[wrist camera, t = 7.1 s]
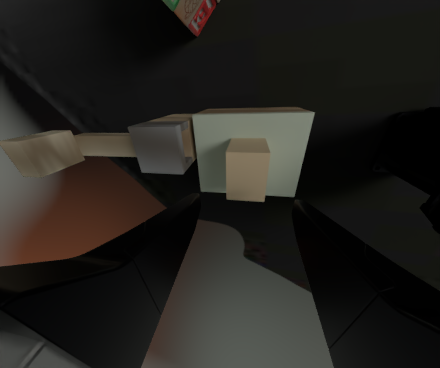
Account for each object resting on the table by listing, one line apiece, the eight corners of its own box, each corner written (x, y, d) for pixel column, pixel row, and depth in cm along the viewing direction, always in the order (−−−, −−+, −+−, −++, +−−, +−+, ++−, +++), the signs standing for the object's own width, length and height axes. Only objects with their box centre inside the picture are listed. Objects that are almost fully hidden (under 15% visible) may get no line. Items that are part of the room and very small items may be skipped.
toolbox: (283, 172, 21) (301, 215, 14) (182, 168, 24) (151, 203, 16) (295, 106, 17) (330, 117, 10) (173, 109, 20) (125, 120, 12)
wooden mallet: (165, 158, 16) (133, 182, 12) (79, 155, 18) (23, 176, 13) (158, 127, 15) (119, 142, 10) (65, 128, 16) (-3, 141, 12)
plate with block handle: (292, 191, 17) (305, 224, 13) (203, 186, 19) (189, 214, 14) (310, 111, 13) (339, 120, 9) (195, 113, 15) (173, 122, 10)
